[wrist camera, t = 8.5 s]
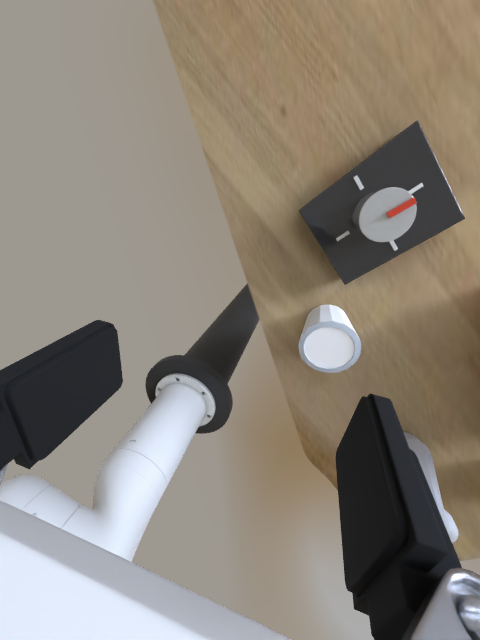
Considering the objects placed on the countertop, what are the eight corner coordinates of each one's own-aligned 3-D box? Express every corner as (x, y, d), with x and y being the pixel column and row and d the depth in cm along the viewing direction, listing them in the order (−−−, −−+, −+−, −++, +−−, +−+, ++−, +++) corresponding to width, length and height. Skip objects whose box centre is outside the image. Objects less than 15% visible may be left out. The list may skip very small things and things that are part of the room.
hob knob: (364, 245, 27) (372, 252, 23) (345, 208, 26) (350, 208, 22) (408, 220, 25) (426, 223, 21) (389, 179, 24) (405, 174, 20)
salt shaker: (430, 451, 38) (477, 554, 27) (390, 456, 41) (418, 553, 30) (416, 423, 37) (460, 520, 26) (376, 431, 40) (400, 522, 28)
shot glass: (357, 301, 32) (367, 324, 26) (349, 347, 35) (356, 377, 29) (303, 298, 34) (300, 318, 28) (299, 342, 37) (296, 369, 31)
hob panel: (342, 278, 32) (345, 285, 29) (300, 210, 30) (298, 210, 27) (450, 217, 26) (466, 218, 23) (406, 128, 24) (418, 119, 22)
